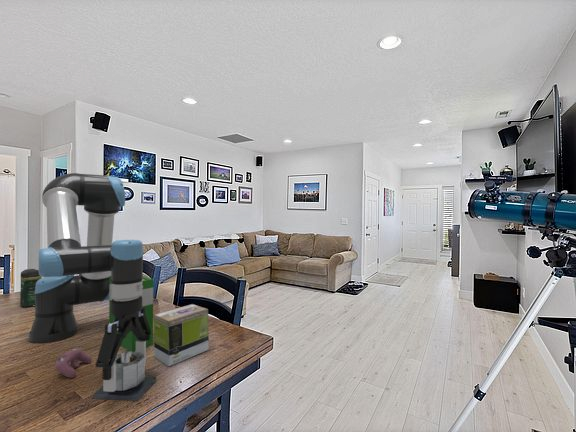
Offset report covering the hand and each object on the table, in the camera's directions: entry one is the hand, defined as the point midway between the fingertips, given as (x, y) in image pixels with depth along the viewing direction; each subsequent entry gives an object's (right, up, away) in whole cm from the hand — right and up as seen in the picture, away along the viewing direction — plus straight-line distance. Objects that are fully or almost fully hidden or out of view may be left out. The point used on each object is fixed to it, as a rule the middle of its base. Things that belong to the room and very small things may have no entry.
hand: (126, 376), depth 79 cm
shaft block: (0, -4, 0) cm, 4 cm away
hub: (0, -1, 0) cm, 1 cm away
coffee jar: (-89, -3, +71) cm, 114 cm away
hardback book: (-15, -4, +29) cm, 33 cm away
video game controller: (-21, -4, +9) cm, 23 cm away
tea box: (+8, -4, +20) cm, 22 cm away
